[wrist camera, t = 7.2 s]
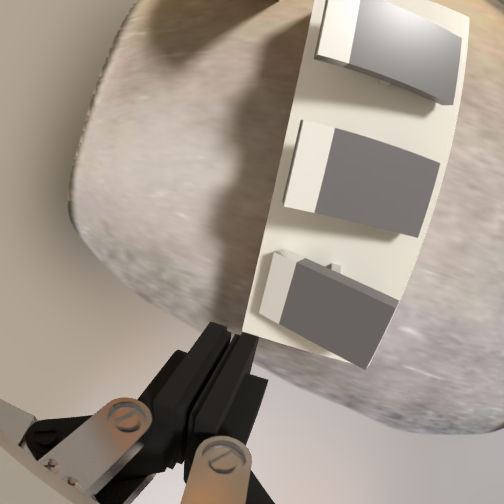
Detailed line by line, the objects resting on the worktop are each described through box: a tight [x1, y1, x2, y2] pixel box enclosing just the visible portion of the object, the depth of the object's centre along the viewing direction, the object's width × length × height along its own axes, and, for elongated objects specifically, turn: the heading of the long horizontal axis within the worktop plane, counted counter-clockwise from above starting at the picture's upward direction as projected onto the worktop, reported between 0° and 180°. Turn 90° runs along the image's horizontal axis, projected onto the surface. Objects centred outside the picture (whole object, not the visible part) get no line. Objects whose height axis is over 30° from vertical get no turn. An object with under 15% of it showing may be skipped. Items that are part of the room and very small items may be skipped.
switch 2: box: [282, 120, 440, 238], centre depth 16 cm, size 8×4×1 cm, turn 78°
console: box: [242, 0, 469, 367], centre depth 20 cm, size 10×26×7 cm, turn 168°
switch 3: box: [259, 248, 399, 369], centre depth 19 cm, size 8×4×1 cm, turn 78°
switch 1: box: [314, 0, 462, 105], centre depth 13 cm, size 8×4×1 cm, turn 78°
